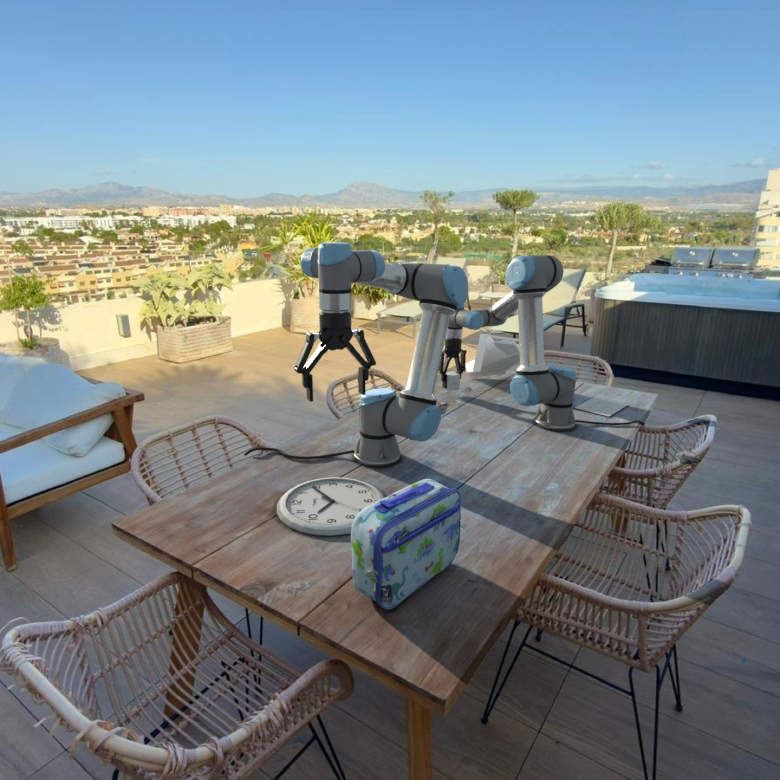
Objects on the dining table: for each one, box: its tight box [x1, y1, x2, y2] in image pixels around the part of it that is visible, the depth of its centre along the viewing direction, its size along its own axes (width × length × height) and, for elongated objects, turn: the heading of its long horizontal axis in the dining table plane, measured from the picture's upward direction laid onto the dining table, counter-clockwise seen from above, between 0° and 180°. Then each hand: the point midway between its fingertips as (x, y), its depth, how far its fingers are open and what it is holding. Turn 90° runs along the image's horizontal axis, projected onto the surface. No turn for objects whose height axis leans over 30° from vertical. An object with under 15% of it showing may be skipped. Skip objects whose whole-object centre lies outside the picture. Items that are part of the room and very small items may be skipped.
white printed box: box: [441, 370, 461, 392], centre depth 238 cm, size 6×6×7 cm
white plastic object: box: [465, 310, 546, 379], centre depth 258 cm, size 37×45×31 cm
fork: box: [437, 396, 448, 409], centre depth 222 cm, size 3×16×2 cm, turn 160°
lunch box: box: [350, 478, 462, 611], centre depth 110 cm, size 26×11×21 cm, turn 135°
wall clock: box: [276, 476, 386, 537], centre depth 142 cm, size 30×2×30 cm
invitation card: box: [573, 396, 629, 418], centre depth 226 cm, size 21×1×15 cm
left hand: (336, 396), depth 129 cm, fingers open, 13 cm apart
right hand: (450, 387), depth 239 cm, fingers closed on white printed box, 6 cm apart
